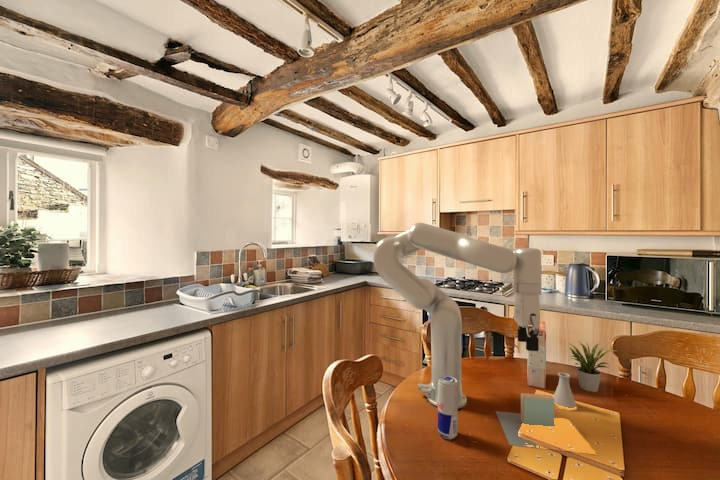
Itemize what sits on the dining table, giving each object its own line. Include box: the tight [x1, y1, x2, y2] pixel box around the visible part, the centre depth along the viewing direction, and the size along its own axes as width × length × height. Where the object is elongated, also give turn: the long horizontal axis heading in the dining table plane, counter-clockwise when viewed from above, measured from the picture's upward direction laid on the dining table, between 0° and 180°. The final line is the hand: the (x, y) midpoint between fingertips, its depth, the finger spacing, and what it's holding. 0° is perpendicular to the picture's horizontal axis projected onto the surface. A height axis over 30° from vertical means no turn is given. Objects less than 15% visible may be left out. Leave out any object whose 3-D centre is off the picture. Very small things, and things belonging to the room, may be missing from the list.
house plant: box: [568, 340, 617, 393], centre depth 110 cm, size 14×14×16 cm
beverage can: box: [437, 376, 459, 440], centre depth 84 cm, size 5×5×15 cm
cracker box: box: [527, 320, 547, 390], centre depth 116 cm, size 14×6×21 cm, turn 150°
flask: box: [552, 372, 578, 408], centre depth 98 cm, size 7×7×10 cm
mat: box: [495, 410, 540, 449], centre depth 85 cm, size 20×16×1 cm
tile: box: [520, 392, 555, 426], centre depth 88 cm, size 8×2×8 cm, turn 78°
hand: (527, 345), depth 96 cm, fingers open, 7 cm apart
